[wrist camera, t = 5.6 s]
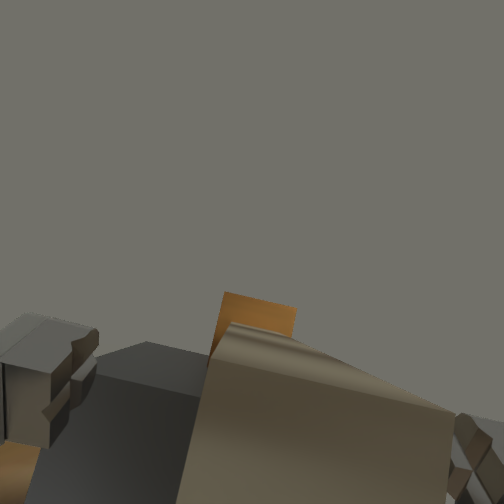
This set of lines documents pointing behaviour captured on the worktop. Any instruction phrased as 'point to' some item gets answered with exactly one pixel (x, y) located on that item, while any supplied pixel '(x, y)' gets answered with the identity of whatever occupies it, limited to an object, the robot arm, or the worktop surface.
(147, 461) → the cabinet
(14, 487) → the worktop surface
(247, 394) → the bar
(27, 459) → the worktop surface
